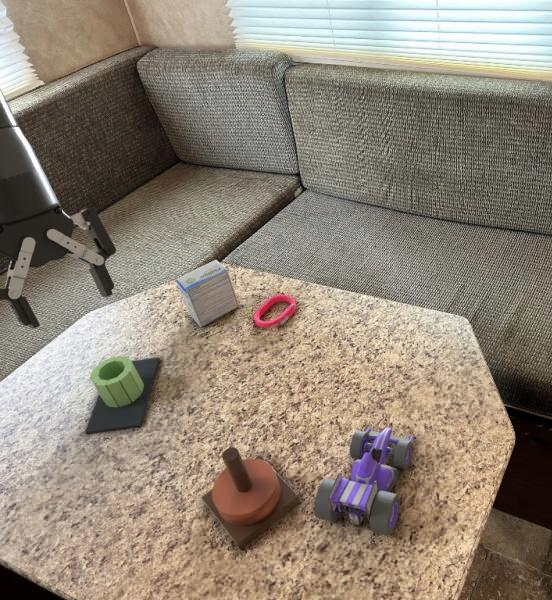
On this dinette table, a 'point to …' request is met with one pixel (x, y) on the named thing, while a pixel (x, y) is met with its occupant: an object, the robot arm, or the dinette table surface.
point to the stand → (248, 497)
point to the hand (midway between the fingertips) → (73, 310)
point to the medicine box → (208, 292)
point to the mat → (128, 414)
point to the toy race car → (367, 482)
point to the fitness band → (281, 318)
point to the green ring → (117, 381)
